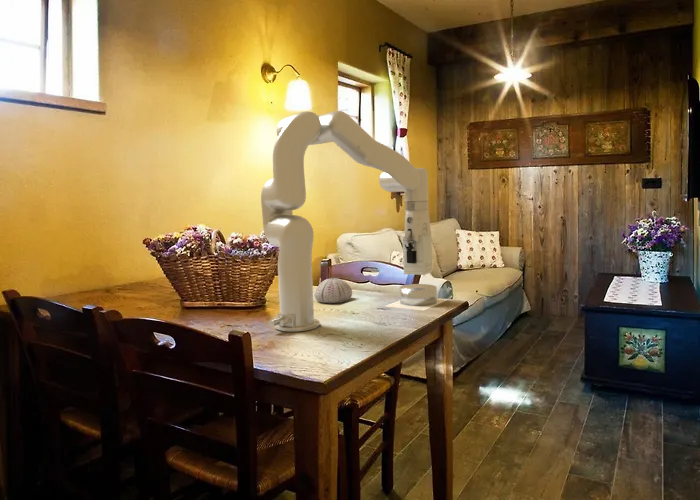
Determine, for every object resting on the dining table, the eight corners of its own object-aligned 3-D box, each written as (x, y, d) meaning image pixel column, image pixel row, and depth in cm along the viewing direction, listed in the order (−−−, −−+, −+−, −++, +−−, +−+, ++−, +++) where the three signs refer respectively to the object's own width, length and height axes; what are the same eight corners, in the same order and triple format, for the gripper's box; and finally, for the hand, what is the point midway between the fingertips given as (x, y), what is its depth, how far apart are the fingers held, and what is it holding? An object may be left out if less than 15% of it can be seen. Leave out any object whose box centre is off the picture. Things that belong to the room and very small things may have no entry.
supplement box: (432, 272, 175) (432, 233, 174) (424, 275, 169) (423, 235, 167) (412, 270, 179) (411, 233, 177) (402, 274, 172) (401, 235, 171)
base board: (424, 313, 163) (423, 310, 163) (384, 309, 171) (384, 306, 170) (448, 302, 178) (448, 299, 177) (410, 298, 185) (410, 296, 185)
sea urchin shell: (342, 306, 178) (341, 282, 177) (306, 303, 184) (306, 280, 183) (358, 298, 190) (358, 276, 189) (325, 296, 196) (324, 274, 195)
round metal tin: (426, 307, 167) (426, 291, 166) (393, 304, 173) (392, 288, 173) (442, 300, 176) (442, 285, 176) (410, 297, 183) (410, 283, 183)
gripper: (414, 208, 162) (415, 265, 164) (438, 205, 176) (439, 258, 178) (392, 208, 166) (394, 264, 168) (418, 205, 181) (419, 257, 183)
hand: (417, 261), depth 173 cm, fingers closed on supplement box, 7 cm apart
